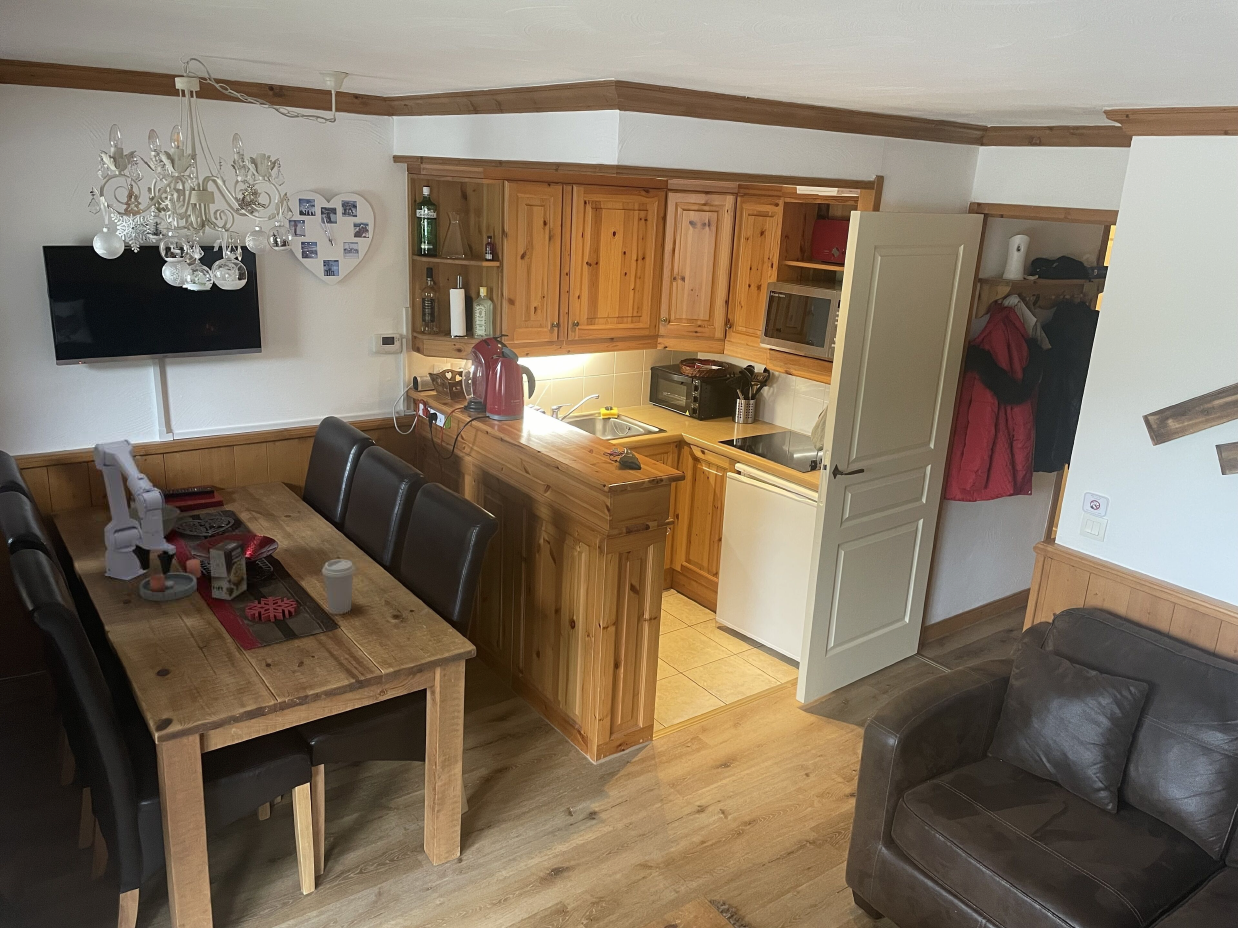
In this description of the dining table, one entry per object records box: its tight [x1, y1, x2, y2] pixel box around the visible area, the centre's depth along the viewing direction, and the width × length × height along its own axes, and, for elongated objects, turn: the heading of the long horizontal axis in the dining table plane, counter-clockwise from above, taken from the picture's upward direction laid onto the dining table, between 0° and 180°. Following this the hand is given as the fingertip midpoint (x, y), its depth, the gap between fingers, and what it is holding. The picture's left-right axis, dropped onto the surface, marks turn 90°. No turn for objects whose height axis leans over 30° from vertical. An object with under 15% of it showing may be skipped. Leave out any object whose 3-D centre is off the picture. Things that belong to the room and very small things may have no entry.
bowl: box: [126, 504, 181, 537], centre depth 323 cm, size 19×19×10 cm
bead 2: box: [186, 558, 202, 579], centre depth 296 cm, size 4×4×5 cm
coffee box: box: [209, 539, 248, 601], centre depth 284 cm, size 9×6×16 cm
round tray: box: [138, 572, 198, 602], centre depth 285 cm, size 16×16×2 cm
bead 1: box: [150, 574, 165, 592], centre depth 281 cm, size 4×4×5 cm
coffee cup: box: [321, 558, 356, 615], centre depth 278 cm, size 10×10×15 cm
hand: (156, 571), depth 280 cm, fingers open, 7 cm apart
